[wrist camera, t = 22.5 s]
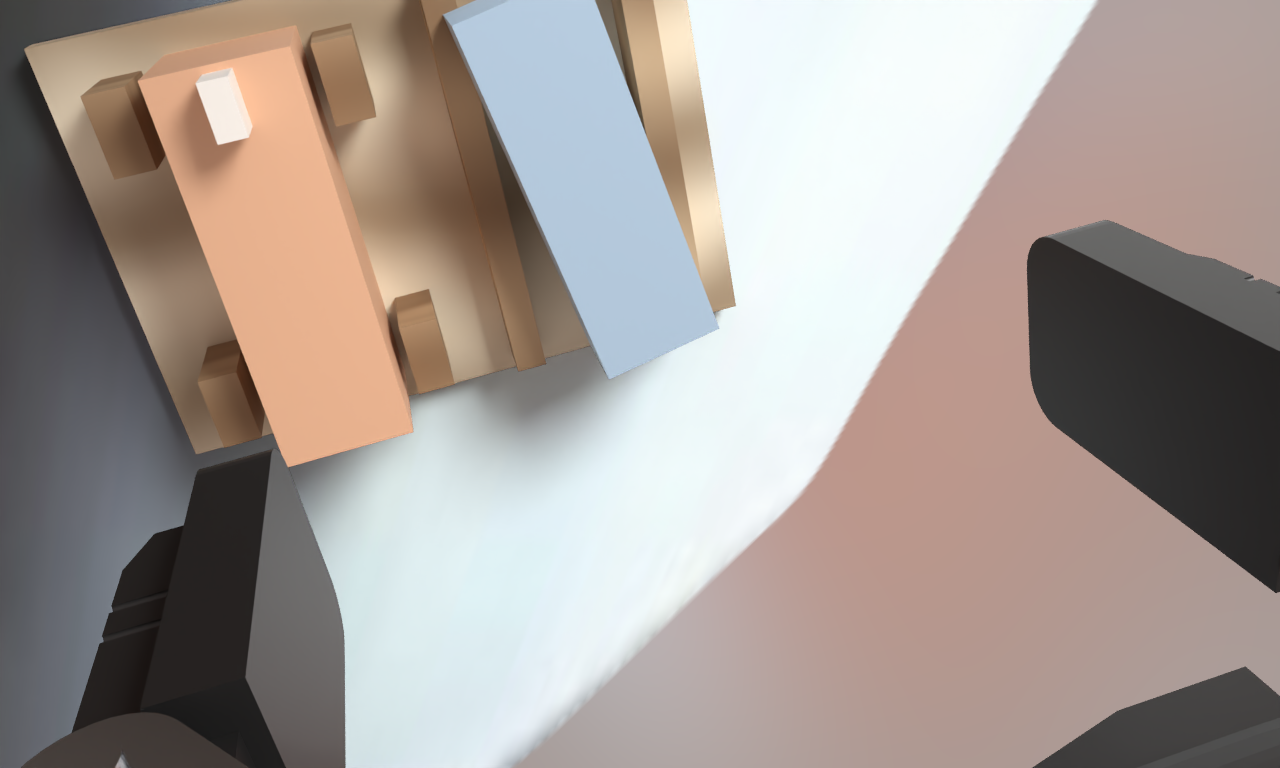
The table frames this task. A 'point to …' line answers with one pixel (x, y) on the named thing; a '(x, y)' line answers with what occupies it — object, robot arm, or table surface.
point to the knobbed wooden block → (281, 240)
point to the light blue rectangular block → (586, 173)
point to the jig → (370, 187)
